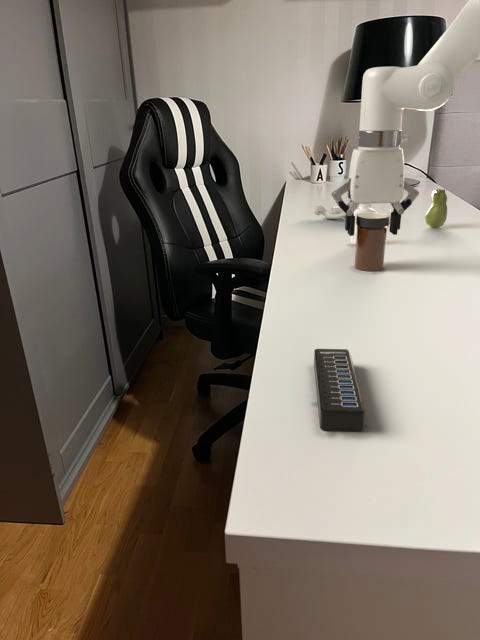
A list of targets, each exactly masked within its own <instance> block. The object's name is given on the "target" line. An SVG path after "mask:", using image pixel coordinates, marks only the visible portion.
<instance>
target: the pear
mask: <svg viewBox="0 0 480 640" xmlns="http://www.w3.org/2000/svg"><path fill="white" fill-rule="evenodd" d="M430 198H431V205H430V207H429V208H428V211H426V213H425V216H424V217H425V218H424V219H425V222H426V225H428V226H429V227H430V228H440V227H443V225H444V224H445V223H446V222H447V218H448V205H447V201H448V196H447V193H446V189H441V188H438V189H435V190H432V191H431V195H430Z"/></svg>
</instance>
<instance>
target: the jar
mask: <svg viewBox="0 0 480 640" xmlns="http://www.w3.org/2000/svg"><path fill="white" fill-rule="evenodd" d="M387 231H388V226H386V227H382V228H367V227H361V226H358V225H357V234H356V245H355V250H354V264H353V267H354V268H355V269H356V270H358V271H363V272H378V271H382V270H383V269H384V265H385V254H386V252H385V251H386V242H387Z"/></svg>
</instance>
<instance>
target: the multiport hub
mask: <svg viewBox="0 0 480 640" xmlns="http://www.w3.org/2000/svg"><path fill="white" fill-rule="evenodd" d="M313 371H314V381H315V393H316V404H317V412H318V413H317V415H318V423H319V429H320V430H321V431H325V432H327V431H328V432H329V431H330V432H353V433H354V432H356V433H357V432H358V433H360V432H363V431H364V425H365V414H366V411H365V407H364V402H363V398H362V395H361V391H360V385H359V381H358V378H357V375H356V371H355V366H354V361H353V357H352V355H351V351H350V350H349V349H347V348H315V349H314V353H313Z"/></svg>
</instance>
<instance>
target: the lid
mask: <svg viewBox="0 0 480 640" xmlns="http://www.w3.org/2000/svg"><path fill="white" fill-rule="evenodd" d="M387 214H388V213H383V212H377V213H374V212H368V213H360V214H357V218H356V225H358V226H361V227H367V228H382V227H386V226H387V227H388V226H389V225H390V223H389V215H387Z"/></svg>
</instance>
